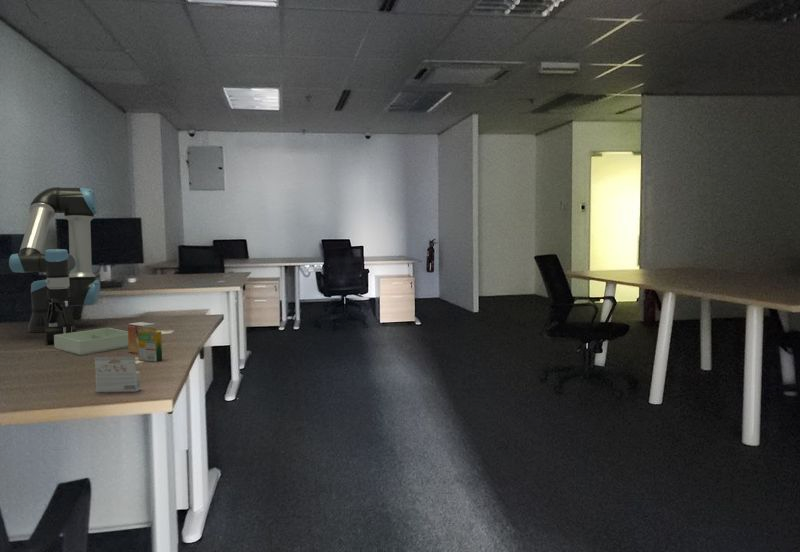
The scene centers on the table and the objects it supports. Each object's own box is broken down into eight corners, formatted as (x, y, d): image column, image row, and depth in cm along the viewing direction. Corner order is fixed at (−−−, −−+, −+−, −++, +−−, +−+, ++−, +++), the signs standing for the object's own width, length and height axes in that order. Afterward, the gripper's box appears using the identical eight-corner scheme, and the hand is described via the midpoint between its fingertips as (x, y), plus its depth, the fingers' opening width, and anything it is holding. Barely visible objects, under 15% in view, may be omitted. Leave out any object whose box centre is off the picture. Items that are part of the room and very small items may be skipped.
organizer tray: (54, 347, 197) (53, 334, 197) (109, 339, 213) (108, 327, 213) (80, 355, 184) (79, 341, 184) (136, 346, 200) (136, 333, 200)
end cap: (46, 345, 202) (45, 328, 202) (45, 342, 208) (44, 326, 207) (76, 342, 208) (76, 325, 208) (74, 339, 214) (73, 323, 213)
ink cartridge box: (100, 389, 143) (98, 354, 142) (141, 389, 143) (139, 354, 142) (95, 392, 140) (93, 356, 139) (137, 392, 140) (135, 356, 140)
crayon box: (162, 359, 178) (161, 326, 177) (156, 361, 175) (155, 327, 174) (144, 358, 180) (143, 325, 179) (138, 360, 177) (137, 326, 176)
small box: (128, 352, 190) (127, 323, 189) (142, 349, 194) (141, 321, 194) (142, 354, 186) (141, 325, 185) (156, 351, 191) (155, 323, 190)
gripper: (35, 287, 211) (37, 338, 212) (61, 290, 196) (63, 346, 198) (55, 285, 217) (58, 336, 218) (82, 289, 202) (85, 343, 204)
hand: (60, 341), depth 208 cm, fingers open, 13 cm apart
